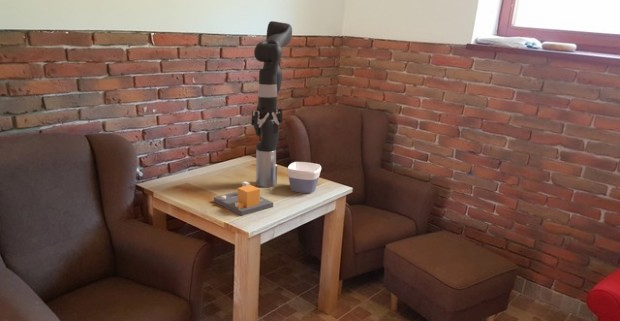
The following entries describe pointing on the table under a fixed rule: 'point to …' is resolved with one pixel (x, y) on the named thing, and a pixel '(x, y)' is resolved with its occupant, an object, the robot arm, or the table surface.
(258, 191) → the orange block
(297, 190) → the bowl
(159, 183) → the table surface
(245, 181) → the untagged breaker
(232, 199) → the breaker panel
